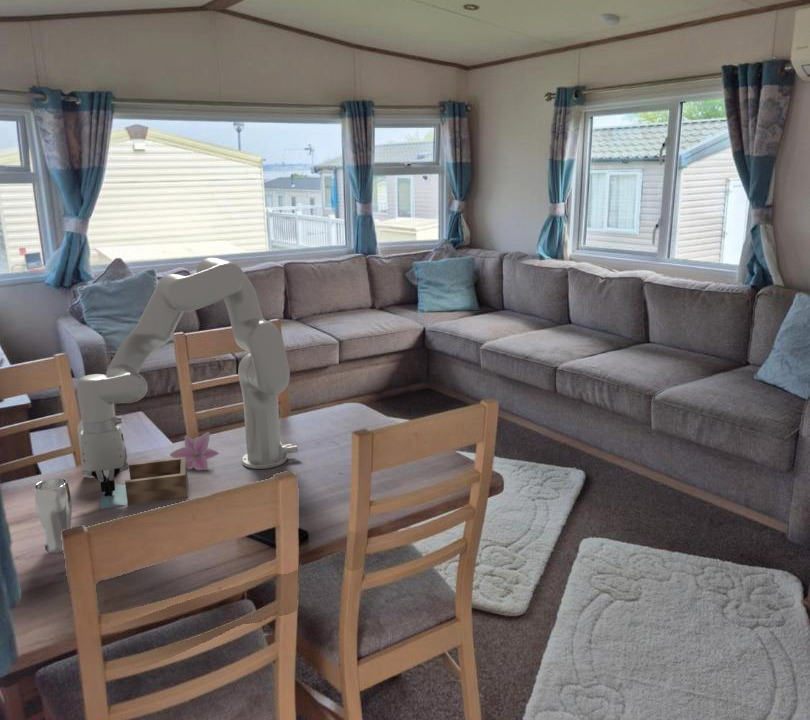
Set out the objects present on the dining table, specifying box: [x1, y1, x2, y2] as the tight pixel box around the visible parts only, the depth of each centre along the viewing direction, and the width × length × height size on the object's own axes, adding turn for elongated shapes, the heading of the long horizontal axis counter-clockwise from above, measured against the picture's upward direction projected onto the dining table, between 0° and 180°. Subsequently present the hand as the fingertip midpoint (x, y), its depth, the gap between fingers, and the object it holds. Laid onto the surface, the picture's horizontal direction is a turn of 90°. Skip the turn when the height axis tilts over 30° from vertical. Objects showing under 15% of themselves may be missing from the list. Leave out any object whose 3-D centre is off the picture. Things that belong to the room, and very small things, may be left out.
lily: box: [169, 431, 220, 471], centre depth 192 cm, size 12×12×10 cm
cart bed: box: [124, 457, 189, 506], centre depth 176 cm, size 14×12×7 cm
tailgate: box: [99, 483, 128, 510], centre depth 174 cm, size 1×12×6 cm
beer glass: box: [33, 477, 73, 554], centre depth 151 cm, size 7×7×15 cm
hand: (109, 493), depth 173 cm, fingers closed
